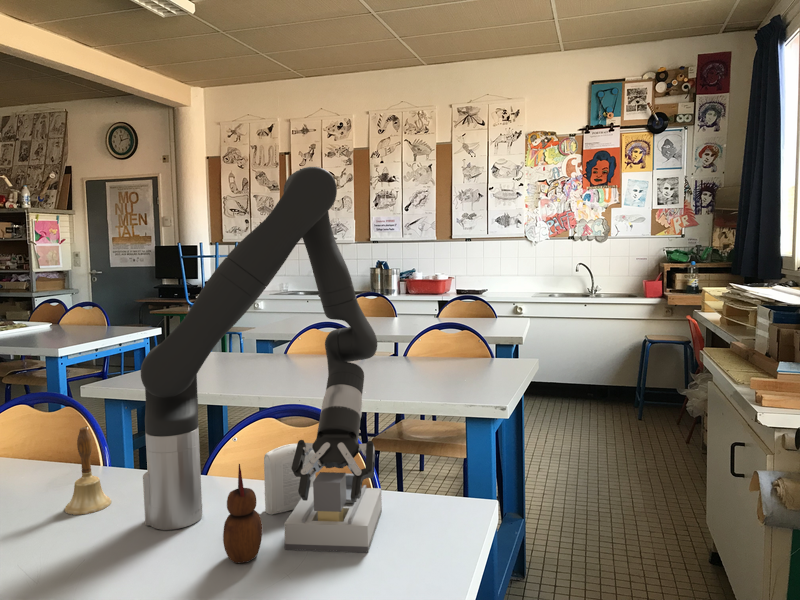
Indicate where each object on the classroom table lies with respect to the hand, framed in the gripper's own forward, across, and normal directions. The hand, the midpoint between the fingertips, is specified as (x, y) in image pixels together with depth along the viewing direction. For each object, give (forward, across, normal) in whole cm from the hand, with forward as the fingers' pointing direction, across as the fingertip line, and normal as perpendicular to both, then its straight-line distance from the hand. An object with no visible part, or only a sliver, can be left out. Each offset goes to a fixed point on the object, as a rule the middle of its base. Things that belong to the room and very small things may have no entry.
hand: (328, 499), depth 101 cm
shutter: (-5, 0, +9) cm, 10 cm away
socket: (+2, 0, +9) cm, 9 cm away
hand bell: (-3, -52, +14) cm, 54 cm away
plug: (+4, 0, +6) cm, 7 cm away
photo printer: (-4, -11, +16) cm, 20 cm away
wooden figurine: (+10, -13, +2) cm, 16 cm away
